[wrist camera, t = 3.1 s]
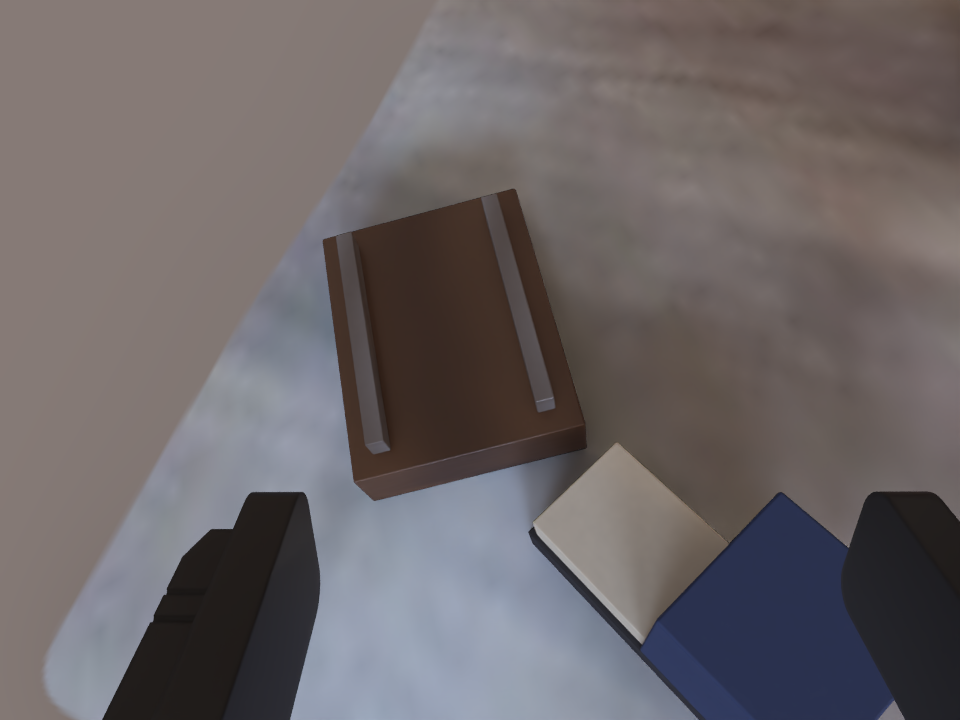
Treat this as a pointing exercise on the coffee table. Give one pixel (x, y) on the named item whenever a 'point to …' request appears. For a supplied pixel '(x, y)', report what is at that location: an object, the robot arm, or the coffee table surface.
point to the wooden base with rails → (447, 348)
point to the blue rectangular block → (715, 597)
